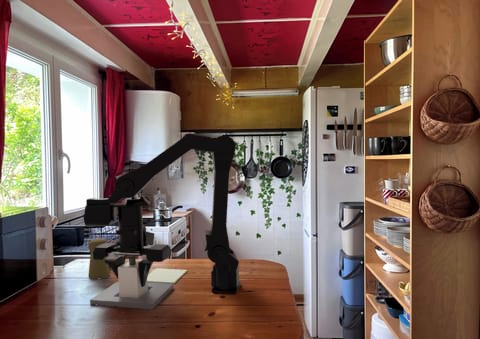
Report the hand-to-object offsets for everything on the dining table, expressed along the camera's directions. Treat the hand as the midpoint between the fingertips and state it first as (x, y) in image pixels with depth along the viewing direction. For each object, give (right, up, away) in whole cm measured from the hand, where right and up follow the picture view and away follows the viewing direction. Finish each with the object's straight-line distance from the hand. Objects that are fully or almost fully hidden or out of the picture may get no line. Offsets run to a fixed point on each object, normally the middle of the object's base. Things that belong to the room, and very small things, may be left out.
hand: (133, 285), depth 83 cm
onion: (-15, -2, +26) cm, 30 cm away
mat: (+5, -2, +13) cm, 14 cm away
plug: (0, -3, 0) cm, 3 cm away
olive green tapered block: (-15, -3, +16) cm, 22 cm away
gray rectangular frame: (0, -3, 0) cm, 3 cm away
